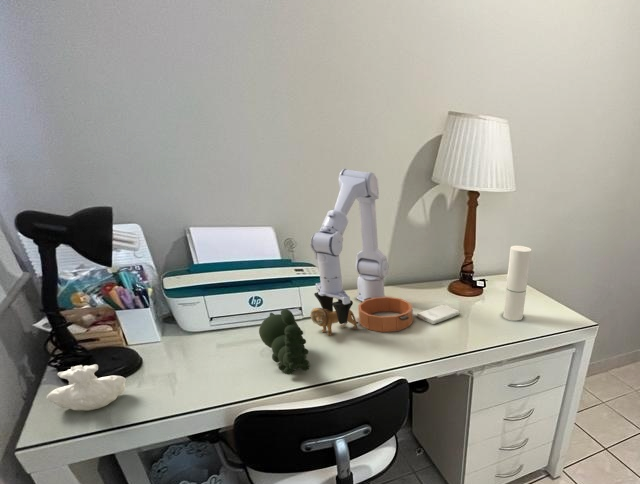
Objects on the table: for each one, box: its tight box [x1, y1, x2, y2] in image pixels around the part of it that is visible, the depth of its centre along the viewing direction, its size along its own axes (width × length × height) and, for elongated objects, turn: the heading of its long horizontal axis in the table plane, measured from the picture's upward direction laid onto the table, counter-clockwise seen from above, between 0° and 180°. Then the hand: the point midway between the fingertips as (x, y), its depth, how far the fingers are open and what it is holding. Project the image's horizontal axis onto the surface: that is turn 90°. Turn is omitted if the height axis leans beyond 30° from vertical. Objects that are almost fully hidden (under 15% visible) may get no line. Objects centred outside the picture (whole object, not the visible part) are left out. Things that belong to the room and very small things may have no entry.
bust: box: [46, 363, 127, 411], centre depth 85 cm, size 12×8×11 cm
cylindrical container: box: [502, 245, 532, 322], centre depth 145 cm, size 7×7×25 cm
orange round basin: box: [357, 296, 414, 333], centre depth 136 cm, size 20×17×5 cm
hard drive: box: [416, 304, 460, 325], centre depth 144 cm, size 2×8×12 cm
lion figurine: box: [310, 307, 359, 336], centre depth 125 cm, size 15×5×9 cm, turn 142°
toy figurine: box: [258, 308, 311, 376], centre depth 105 cm, size 9×19×25 cm
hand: (335, 318), depth 125 cm, fingers open, 7 cm apart
